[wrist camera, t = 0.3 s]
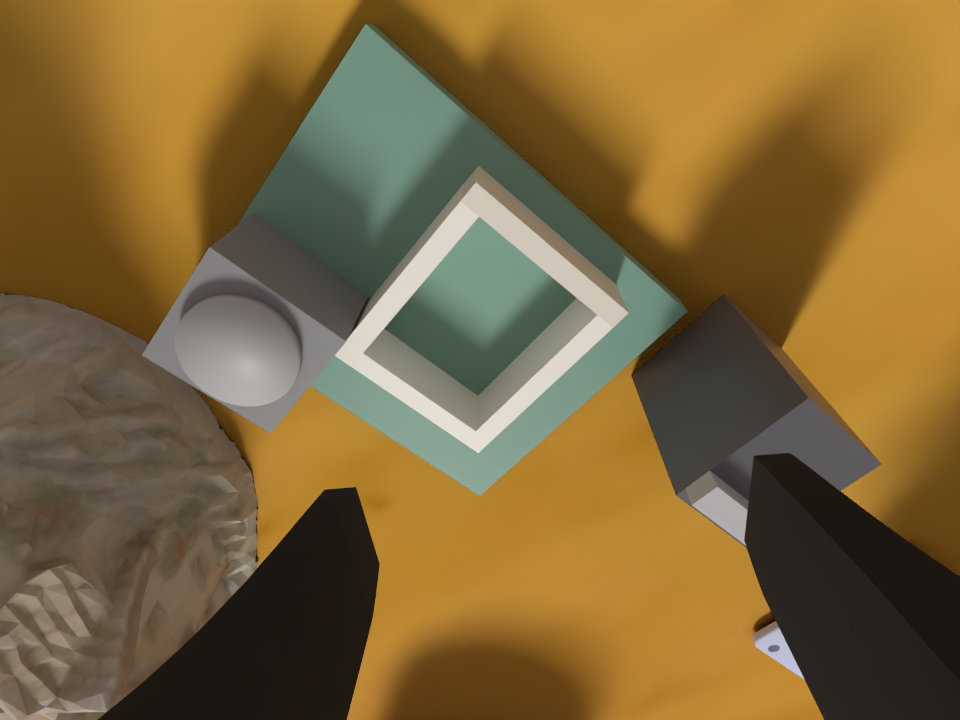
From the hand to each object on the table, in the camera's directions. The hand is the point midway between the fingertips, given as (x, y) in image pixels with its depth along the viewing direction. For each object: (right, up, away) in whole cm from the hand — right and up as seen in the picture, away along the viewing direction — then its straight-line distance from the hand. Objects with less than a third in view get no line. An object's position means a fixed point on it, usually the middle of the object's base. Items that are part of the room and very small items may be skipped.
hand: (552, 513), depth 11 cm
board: (-3, +5, +8) cm, 10 cm away
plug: (+6, +3, +9) cm, 12 cm away
